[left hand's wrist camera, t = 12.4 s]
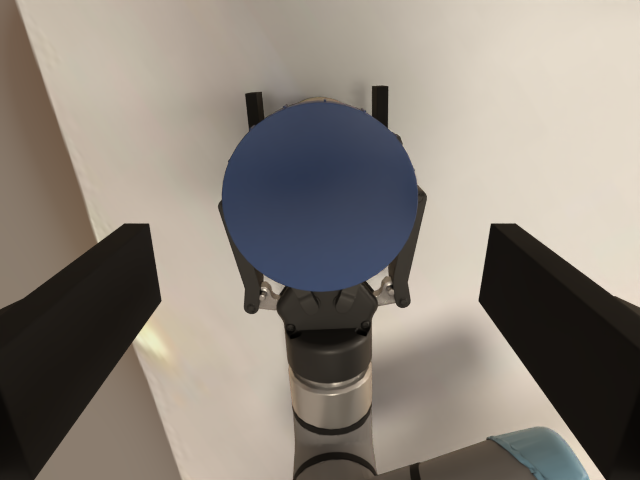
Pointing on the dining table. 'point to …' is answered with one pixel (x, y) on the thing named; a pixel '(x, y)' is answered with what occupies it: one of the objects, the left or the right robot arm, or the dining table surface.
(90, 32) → the dining table surface
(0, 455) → the left robot arm
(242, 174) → the lid
